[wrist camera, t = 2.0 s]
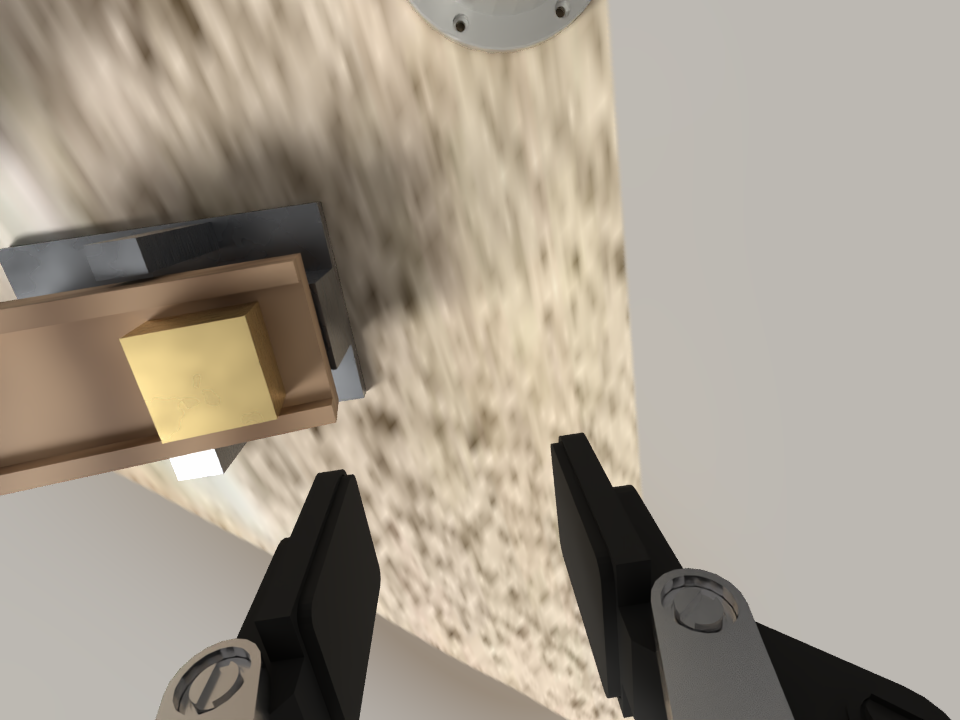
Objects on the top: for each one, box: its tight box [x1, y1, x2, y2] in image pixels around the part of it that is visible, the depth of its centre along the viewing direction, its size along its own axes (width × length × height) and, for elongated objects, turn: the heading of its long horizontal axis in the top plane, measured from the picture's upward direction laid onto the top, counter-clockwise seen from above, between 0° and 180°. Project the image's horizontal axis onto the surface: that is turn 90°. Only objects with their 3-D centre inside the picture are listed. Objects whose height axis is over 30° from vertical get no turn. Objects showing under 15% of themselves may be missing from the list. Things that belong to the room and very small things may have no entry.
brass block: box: [119, 301, 286, 444], centre depth 23 cm, size 5×5×3 cm
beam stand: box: [0, 202, 366, 480], centre depth 29 cm, size 19×13×9 cm
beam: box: [0, 253, 339, 495], centre depth 25 cm, size 19×8×3 cm, turn 98°
